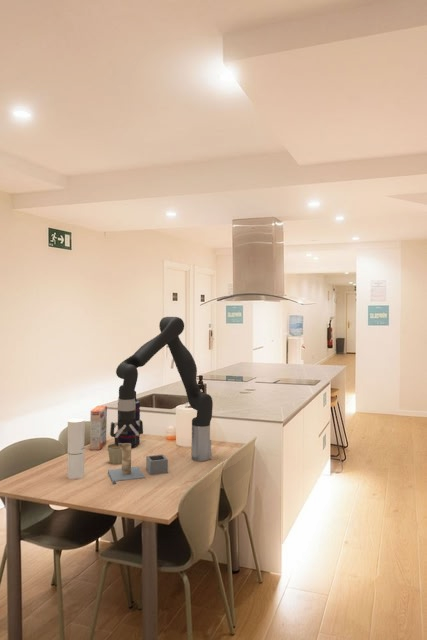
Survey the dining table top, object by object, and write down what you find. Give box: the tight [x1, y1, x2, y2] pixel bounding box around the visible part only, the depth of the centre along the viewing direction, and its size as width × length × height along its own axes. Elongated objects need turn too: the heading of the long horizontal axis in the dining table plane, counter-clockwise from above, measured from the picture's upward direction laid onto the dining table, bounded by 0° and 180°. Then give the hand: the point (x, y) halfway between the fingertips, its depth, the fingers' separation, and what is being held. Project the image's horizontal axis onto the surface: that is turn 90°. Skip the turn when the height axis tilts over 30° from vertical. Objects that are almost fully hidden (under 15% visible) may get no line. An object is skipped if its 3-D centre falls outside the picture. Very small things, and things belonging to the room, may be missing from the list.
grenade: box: [117, 390, 141, 449], centre depth 259 cm, size 14×12×30 cm
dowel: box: [121, 443, 132, 475], centre depth 212 cm, size 4×4×13 cm
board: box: [107, 466, 146, 485], centre depth 212 cm, size 14×14×2 cm
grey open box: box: [145, 454, 169, 476], centre depth 218 cm, size 8×8×7 cm
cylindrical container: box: [66, 418, 85, 480], centre depth 212 cm, size 7×7×25 cm
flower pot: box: [106, 442, 122, 465], centre depth 230 cm, size 9×9×9 cm
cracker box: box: [89, 405, 108, 451], centre depth 257 cm, size 14×6×21 cm, turn 179°
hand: (126, 444), depth 212 cm, fingers open, 8 cm apart
